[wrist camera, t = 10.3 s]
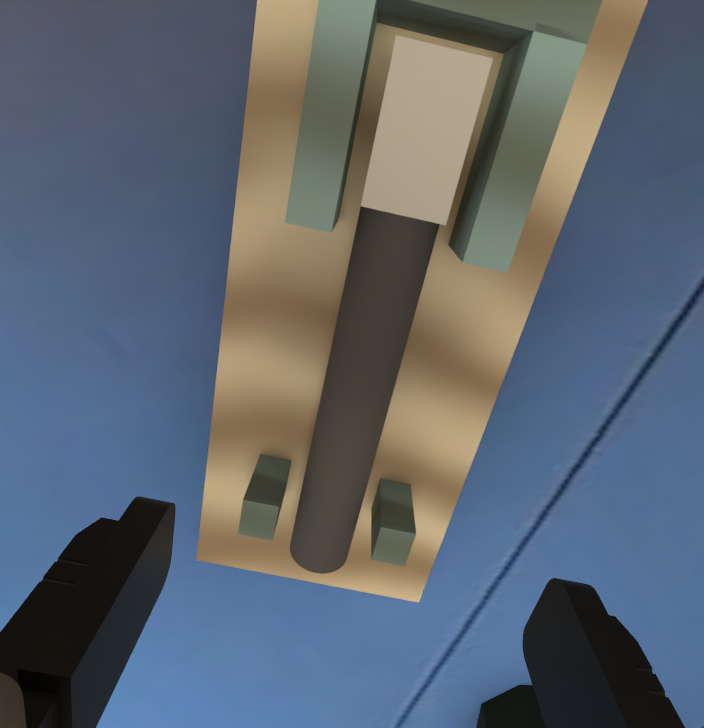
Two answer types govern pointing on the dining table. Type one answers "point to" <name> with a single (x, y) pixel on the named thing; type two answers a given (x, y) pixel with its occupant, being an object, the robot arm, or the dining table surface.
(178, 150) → the dining table surface
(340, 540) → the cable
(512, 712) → the wine bottle
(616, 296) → the dining table surface
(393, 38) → the board
